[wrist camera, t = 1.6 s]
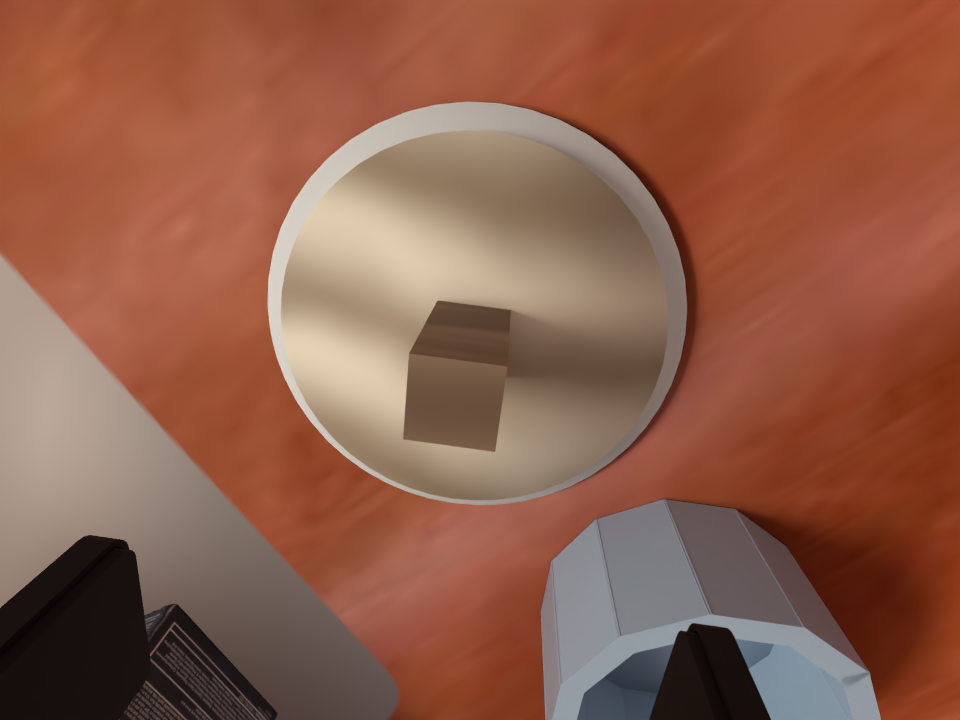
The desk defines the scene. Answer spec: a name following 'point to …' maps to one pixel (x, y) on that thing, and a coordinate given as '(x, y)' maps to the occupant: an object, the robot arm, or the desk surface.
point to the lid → (474, 315)
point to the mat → (515, 124)
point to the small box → (191, 676)
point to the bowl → (689, 616)
